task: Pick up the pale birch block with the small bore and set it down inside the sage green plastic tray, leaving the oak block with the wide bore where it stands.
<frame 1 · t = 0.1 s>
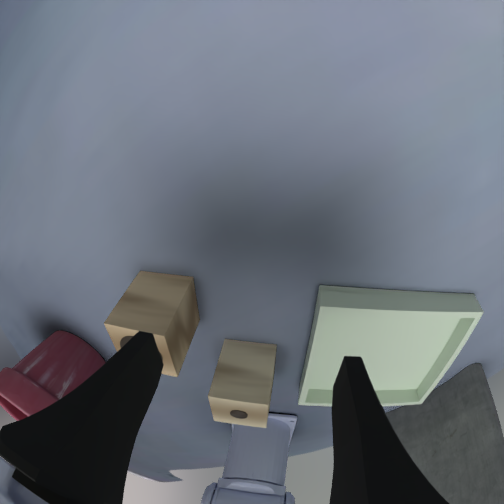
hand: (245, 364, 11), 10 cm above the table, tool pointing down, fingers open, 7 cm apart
birch block: (250, 357, 26), on the table
oak block: (170, 296, 23), on the table
tray: (382, 349, 23), on the table
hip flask: (425, 398, 28), on the table
plant pot: (80, 353, 33), on the table
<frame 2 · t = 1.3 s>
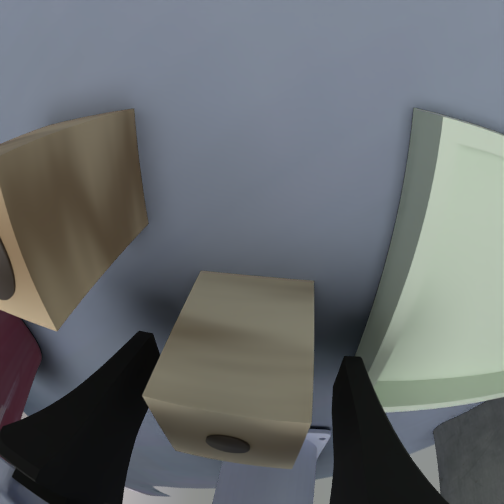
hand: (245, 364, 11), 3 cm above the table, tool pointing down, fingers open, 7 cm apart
birch block: (255, 316, 13), on the table
oak block: (93, 170, 10), on the table
tray: (500, 287, 10), on the table
plant pot: (7, 323, 19), on the table
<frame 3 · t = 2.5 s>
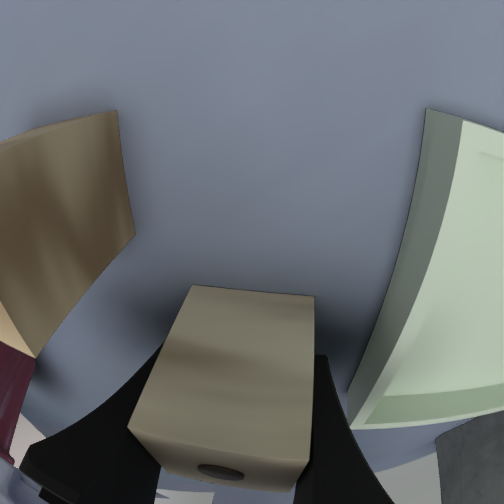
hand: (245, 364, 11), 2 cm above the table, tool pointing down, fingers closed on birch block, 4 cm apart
birch block: (251, 332, 12), on the table, touching gripper
oak block: (77, 177, 9), on the table
plant pot: (1, 329, 19), on the table
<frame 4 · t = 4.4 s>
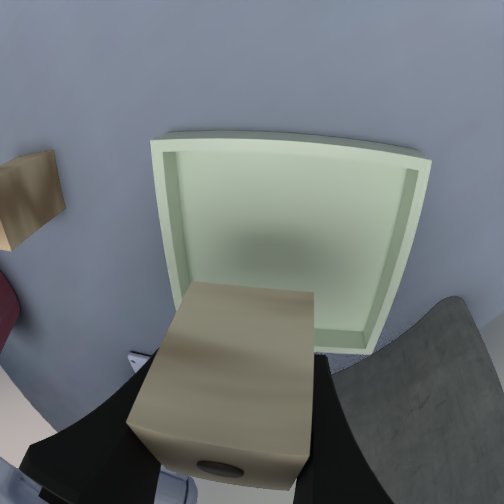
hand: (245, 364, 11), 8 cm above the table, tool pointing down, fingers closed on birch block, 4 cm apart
birch block: (251, 329, 12), point 7 cm above the table, touching gripper
oak block: (40, 181, 18), on the table
tray: (285, 246, 18), on the table
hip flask: (385, 356, 22), on the table
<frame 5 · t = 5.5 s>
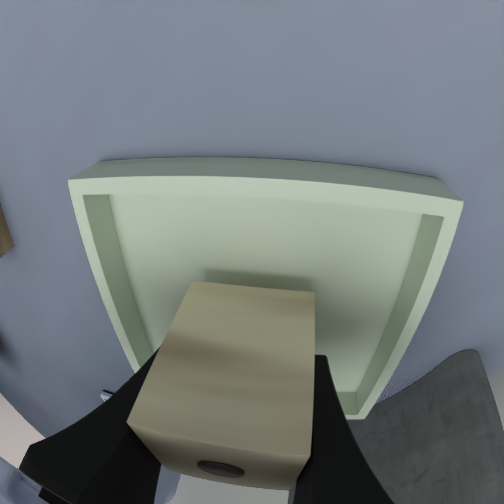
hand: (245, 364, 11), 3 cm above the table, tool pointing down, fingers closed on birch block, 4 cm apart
birch block: (251, 329, 12), point 2 cm above the table, touching gripper
tray: (257, 304, 14), on the table
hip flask: (382, 408, 18), on the table
when the fingers open (3 cm above the table, at t = 6.3 s): birch block drops 1 cm, resting on tray.
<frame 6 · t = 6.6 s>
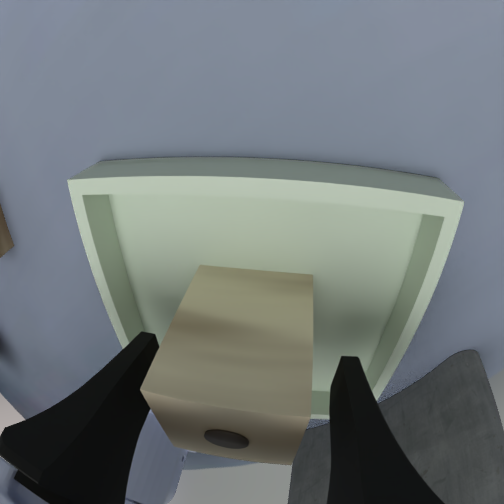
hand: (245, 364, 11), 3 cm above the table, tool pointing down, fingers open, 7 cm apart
birch block: (254, 311, 13), point 1 cm above the table, touching tray
tray: (257, 304, 14), on the table
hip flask: (382, 408, 18), on the table
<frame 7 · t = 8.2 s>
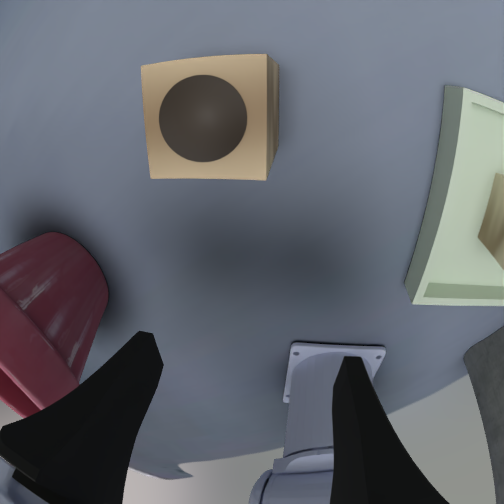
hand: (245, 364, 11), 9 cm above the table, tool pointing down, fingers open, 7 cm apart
oak block: (236, 105, 15), on the table
plant pot: (70, 272, 24), on the table
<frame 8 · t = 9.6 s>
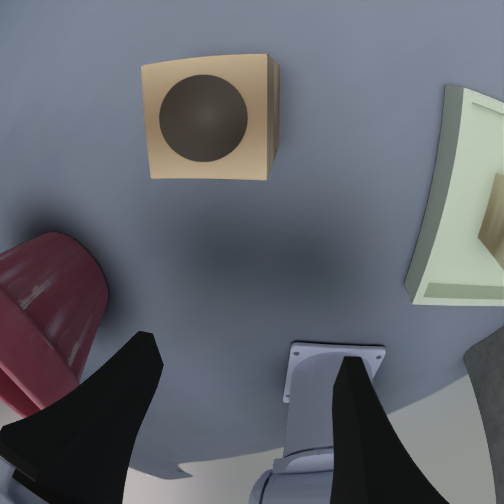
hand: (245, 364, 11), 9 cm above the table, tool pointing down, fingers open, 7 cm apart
oak block: (236, 105, 15), on the table
plant pot: (70, 272, 24), on the table
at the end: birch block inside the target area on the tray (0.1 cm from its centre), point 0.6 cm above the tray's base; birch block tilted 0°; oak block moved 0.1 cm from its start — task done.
